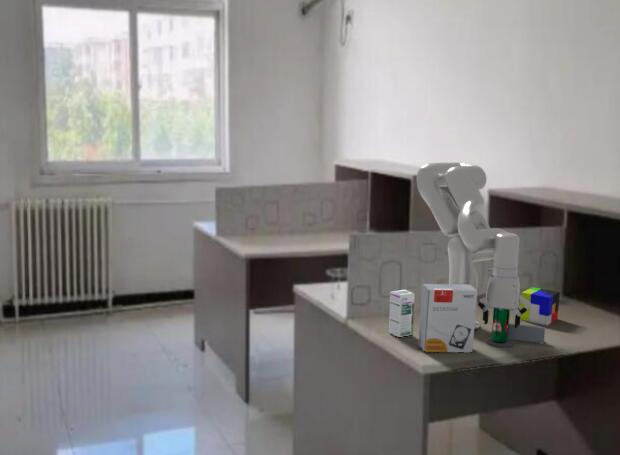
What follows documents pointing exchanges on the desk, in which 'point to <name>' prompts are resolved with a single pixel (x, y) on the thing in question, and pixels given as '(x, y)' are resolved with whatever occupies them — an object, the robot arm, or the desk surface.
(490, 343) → the coaster
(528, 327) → the divider
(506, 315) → the soda can
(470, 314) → the hard drive box
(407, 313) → the syrup box
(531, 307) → the puzzle toy
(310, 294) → the desk surface
